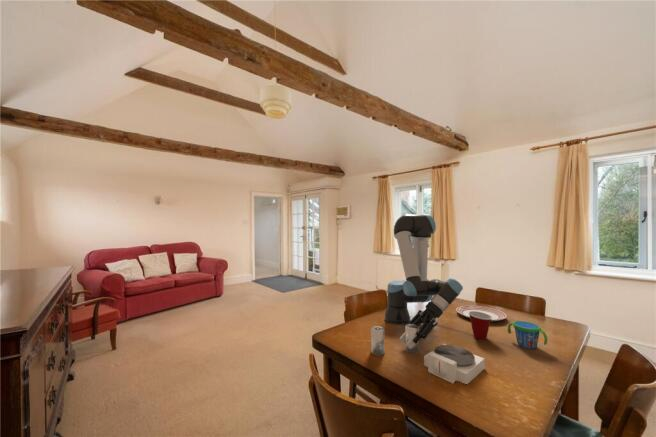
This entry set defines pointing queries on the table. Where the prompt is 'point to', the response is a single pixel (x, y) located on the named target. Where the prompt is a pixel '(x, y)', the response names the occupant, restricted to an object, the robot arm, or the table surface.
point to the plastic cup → (480, 324)
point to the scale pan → (456, 354)
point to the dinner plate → (494, 313)
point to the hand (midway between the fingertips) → (405, 343)
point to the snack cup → (527, 334)
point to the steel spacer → (377, 340)
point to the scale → (453, 368)
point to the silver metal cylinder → (409, 333)
